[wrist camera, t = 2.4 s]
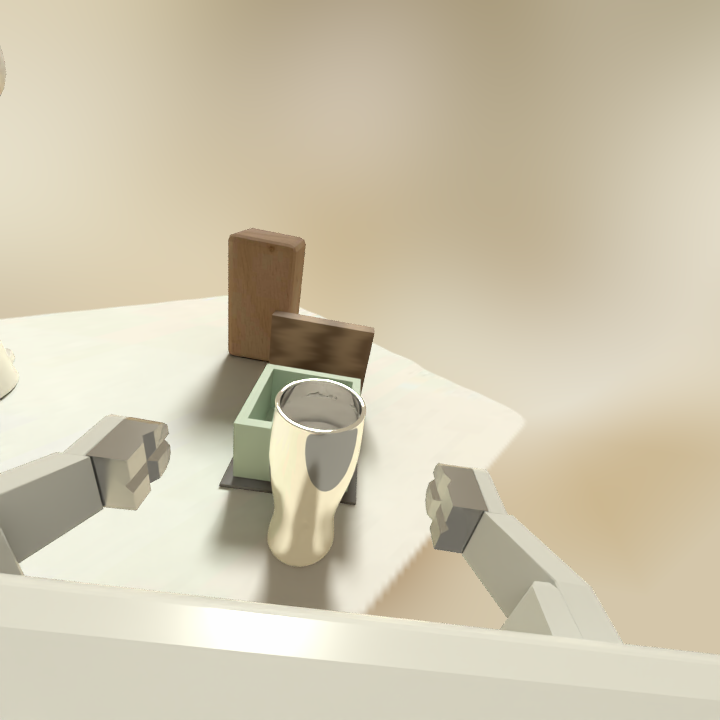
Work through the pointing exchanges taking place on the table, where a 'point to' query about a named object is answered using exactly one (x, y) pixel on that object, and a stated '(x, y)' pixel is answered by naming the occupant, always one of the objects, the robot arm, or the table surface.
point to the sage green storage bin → (267, 418)
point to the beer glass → (311, 465)
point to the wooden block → (261, 287)
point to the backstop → (313, 366)
